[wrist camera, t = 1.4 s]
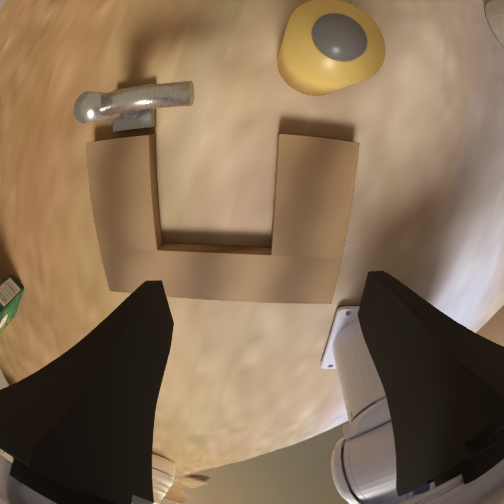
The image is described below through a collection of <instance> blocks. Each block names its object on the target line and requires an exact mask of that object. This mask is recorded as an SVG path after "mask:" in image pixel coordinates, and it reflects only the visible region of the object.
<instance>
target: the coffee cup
mask: <svg viewBox="0 0 504 504" xmlns="http://www.w3.org/2000/svg"><path fill="white" fill-rule="evenodd" d="M485 14H486V17H487V20H488V23H489V25H490V27H491V29H492V31H493V33H494V34H495V36H496V38H497V39H498V40H499V42H500V43H501V44H502V46H503V47H504V0H493V1H490V2H488V3H487V4H486V5H485Z"/></svg>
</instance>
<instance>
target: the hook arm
mask: <svg viewBox="0 0 504 504" xmlns="http://www.w3.org/2000/svg"><path fill="white" fill-rule="evenodd" d="M193 101H194V85H193V82H192V81H185V82H173V83H164V84H153V83H152V84H145V85H139V86H133V87H127V88H122V89H117V90H113V92H109V93H103V92H91V91H88V92H84V93H82V94H81V95H80V96H79V97H78V98H77V100H76V102H75V105H74V115H75V117H76V119H77V120H78V121H79V122H82V123H86V122H96V121H108V120H113V132H114V131H122V130H130V129H138V128H148V127H155V112H156V108H166V107H178V106H192V104H193Z"/></svg>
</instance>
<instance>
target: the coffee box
mask: <svg viewBox="0 0 504 504" xmlns="http://www.w3.org/2000/svg"><path fill="white" fill-rule="evenodd" d="M23 291H24V288H23V287H22V286H21V285H20V284H19V283H18V282H17V280H16V279H15V278H14V277H13V276H12V275H10V276H9V277H8V278H7V279H6V280H5V281H4V282H3V283H1V284H0V333H1V332H2V331H3V330H4V328H5V327H6V326H7V325H8V323H9V322H10V321H11V320H12V319H13V318H14V316H15V313H16V311H17V307H18V304H19V301H20V299H21V296H22V293H23Z"/></svg>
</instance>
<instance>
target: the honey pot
mask: <svg viewBox="0 0 504 504" xmlns="http://www.w3.org/2000/svg"><path fill="white" fill-rule="evenodd" d="M175 468H176V466H175V464H174V463H173V462H171V461H169V460H167V459H165V458H163V457H160V456H157V455H155V454H152V483H153V497H154V503H153V504H161V503H160V501H161V500H162V498H163V497H164V496H165V495H166V492H167V491H168V490H169V487H170V486H172V484H173V478H174V474H175Z"/></svg>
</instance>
